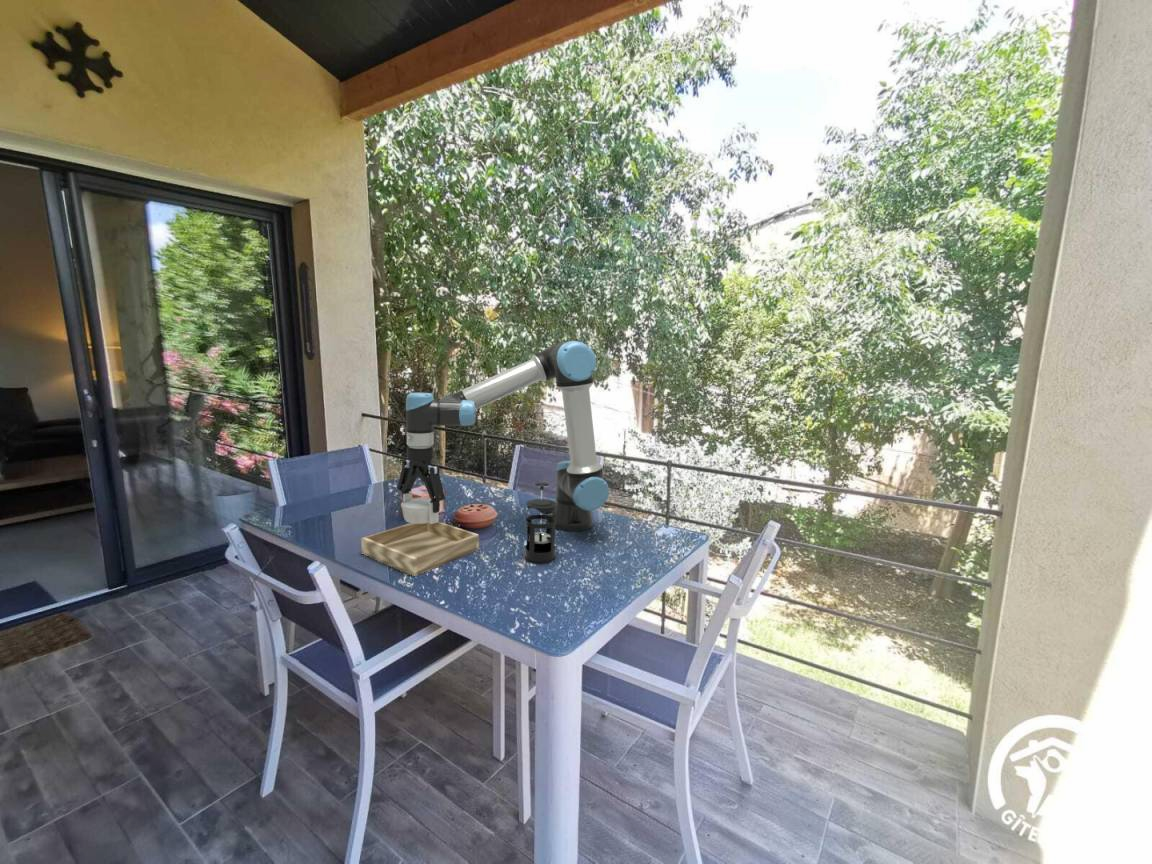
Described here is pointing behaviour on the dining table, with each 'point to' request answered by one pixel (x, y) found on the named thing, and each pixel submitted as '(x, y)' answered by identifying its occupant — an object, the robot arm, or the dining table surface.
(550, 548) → the french press
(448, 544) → the pine tray
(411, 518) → the ramekin
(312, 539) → the dining table surface
